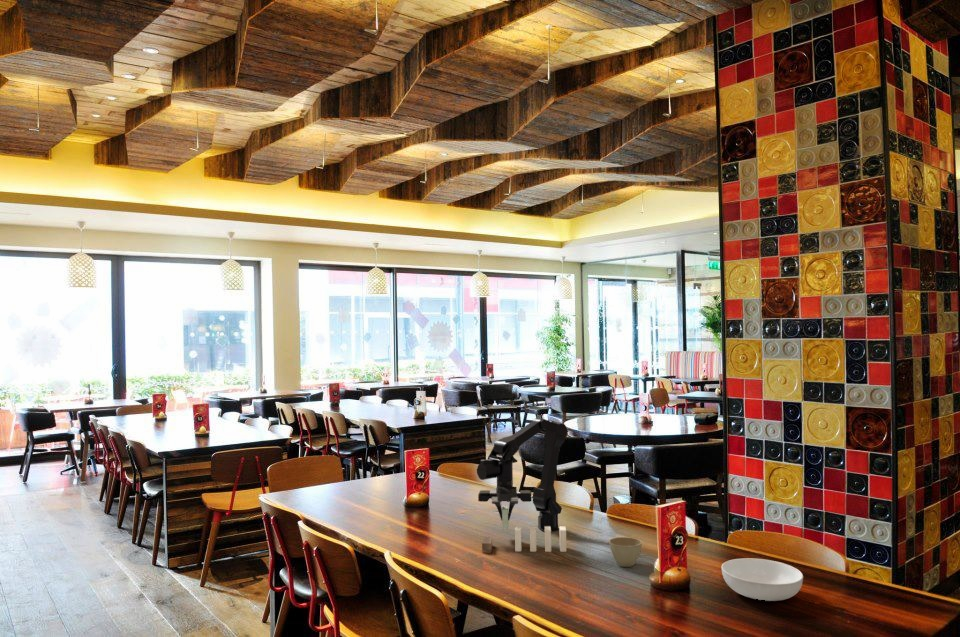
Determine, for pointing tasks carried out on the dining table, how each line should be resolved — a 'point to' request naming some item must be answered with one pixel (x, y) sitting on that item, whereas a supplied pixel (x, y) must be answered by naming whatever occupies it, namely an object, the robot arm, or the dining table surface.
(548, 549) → the domino
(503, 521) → the domino sage
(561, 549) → the domino
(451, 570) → the dining table surface
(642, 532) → the dining table surface
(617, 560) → the flower pot
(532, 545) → the domino
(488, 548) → the end block
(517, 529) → the domino
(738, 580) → the serving bowl
